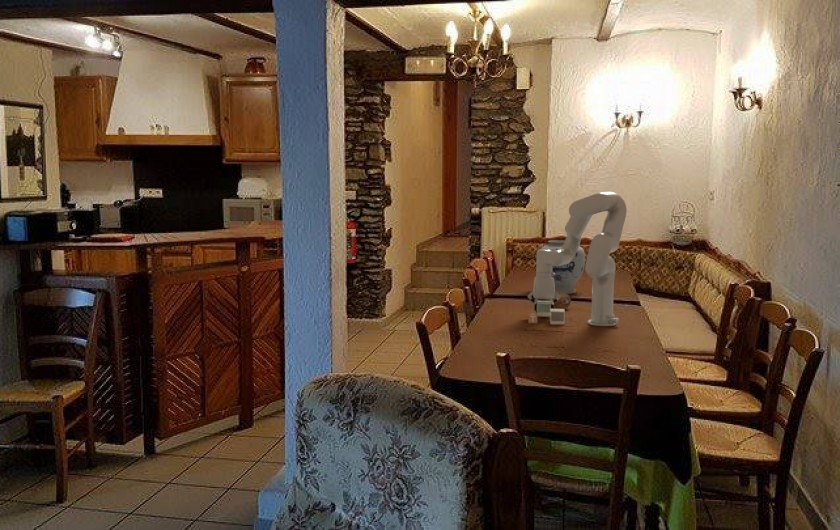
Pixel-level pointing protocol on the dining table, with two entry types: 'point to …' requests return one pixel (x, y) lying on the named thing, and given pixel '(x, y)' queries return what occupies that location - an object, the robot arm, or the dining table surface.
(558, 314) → the cream cube
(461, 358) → the dining table surface
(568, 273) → the apothecary jar
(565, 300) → the tin
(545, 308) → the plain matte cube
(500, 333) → the dining table surface
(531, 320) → the letter block
